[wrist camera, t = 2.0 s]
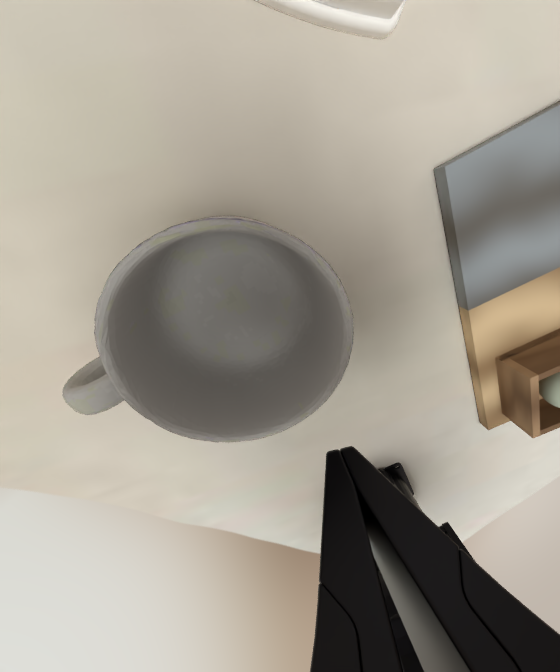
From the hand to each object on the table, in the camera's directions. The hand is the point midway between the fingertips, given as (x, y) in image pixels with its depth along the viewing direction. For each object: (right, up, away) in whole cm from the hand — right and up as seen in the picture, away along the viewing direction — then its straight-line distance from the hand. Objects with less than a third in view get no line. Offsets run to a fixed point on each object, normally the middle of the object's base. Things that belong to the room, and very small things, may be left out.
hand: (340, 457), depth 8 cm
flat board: (+17, +7, +12) cm, 22 cm away
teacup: (-6, +6, +10) cm, 13 cm away
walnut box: (+21, +1, +15) cm, 25 cm away
